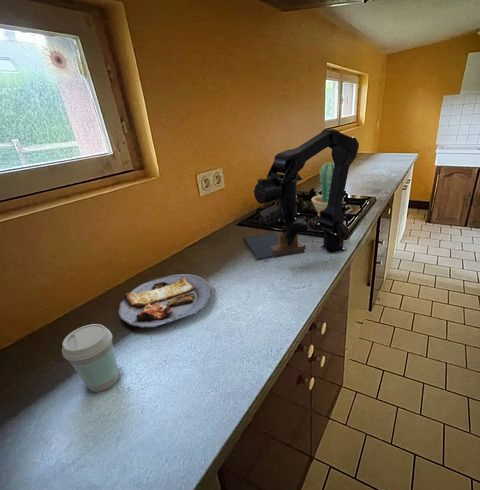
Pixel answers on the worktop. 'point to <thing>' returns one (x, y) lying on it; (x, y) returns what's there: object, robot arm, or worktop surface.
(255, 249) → the mat
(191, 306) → the food plate
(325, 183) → the potted cactus
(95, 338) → the coffee cup
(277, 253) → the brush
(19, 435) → the worktop surface
